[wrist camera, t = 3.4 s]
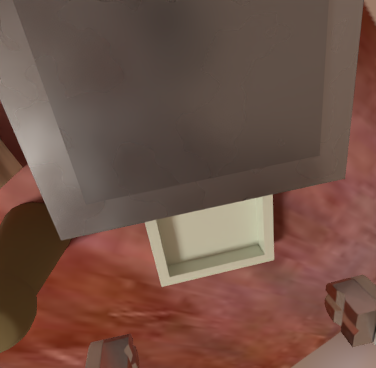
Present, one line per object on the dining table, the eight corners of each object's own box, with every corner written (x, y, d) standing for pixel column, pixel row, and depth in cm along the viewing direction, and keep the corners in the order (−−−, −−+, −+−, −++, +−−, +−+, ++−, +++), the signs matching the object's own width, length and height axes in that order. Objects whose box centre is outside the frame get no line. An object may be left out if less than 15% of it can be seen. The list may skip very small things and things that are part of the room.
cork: (-2, 250, 26) (-89, 368, 16) (6, 195, 24) (-87, 290, 14) (65, 262, 28) (25, 374, 18) (78, 211, 26) (40, 306, 16)
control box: (61, 5, 19) (-99, -109, 6) (228, -20, 20) (392, -162, 7) (103, 146, 24) (61, 253, 11) (238, 120, 25) (350, 188, 12)
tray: (134, 170, 25) (133, 180, 23) (261, 145, 26) (271, 152, 24) (160, 271, 30) (161, 286, 28) (265, 246, 31) (274, 259, 29)
